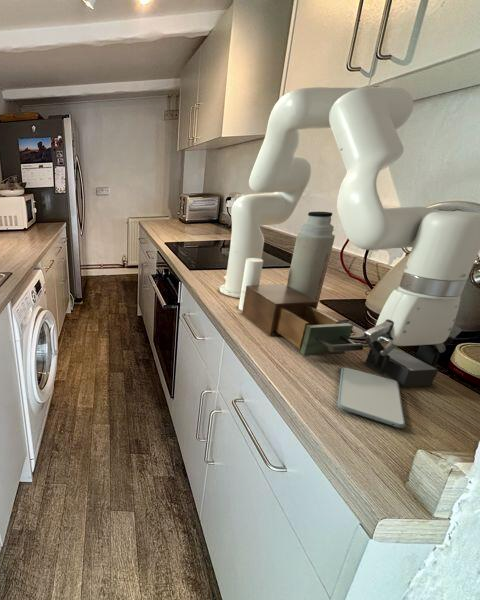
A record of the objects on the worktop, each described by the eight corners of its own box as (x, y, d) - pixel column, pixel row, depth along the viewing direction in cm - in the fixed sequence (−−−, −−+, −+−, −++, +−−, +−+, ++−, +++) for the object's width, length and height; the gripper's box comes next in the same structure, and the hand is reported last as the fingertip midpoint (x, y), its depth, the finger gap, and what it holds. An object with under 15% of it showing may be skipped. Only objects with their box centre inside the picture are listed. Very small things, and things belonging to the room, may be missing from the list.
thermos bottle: (318, 313, 89) (345, 211, 79) (309, 322, 84) (335, 214, 74) (287, 306, 95) (308, 209, 85) (276, 313, 90) (297, 212, 80)
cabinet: (309, 333, 79) (317, 301, 75) (269, 335, 78) (276, 303, 75) (276, 312, 91) (282, 283, 88) (241, 313, 91) (246, 285, 88)
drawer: (364, 366, 63) (374, 336, 61) (320, 369, 63) (329, 339, 61) (304, 328, 80) (310, 303, 77) (269, 329, 79) (274, 304, 77)
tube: (240, 311, 93) (248, 261, 87) (237, 305, 97) (244, 257, 91) (256, 312, 92) (265, 261, 86) (252, 306, 96) (260, 258, 90)
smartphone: (398, 380, 59) (406, 426, 48) (397, 385, 59) (404, 431, 48) (341, 365, 64) (337, 404, 53) (340, 370, 64) (336, 409, 54)
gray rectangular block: (402, 387, 58) (409, 370, 57) (364, 363, 66) (369, 347, 64) (431, 385, 58) (439, 368, 57) (390, 362, 66) (396, 346, 65)
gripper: (454, 276, 59) (422, 356, 65) (363, 280, 59) (339, 360, 65) (506, 289, 52) (464, 377, 58) (402, 294, 52) (372, 382, 58)
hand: (398, 368), depth 62 cm, fingers open, 9 cm apart
